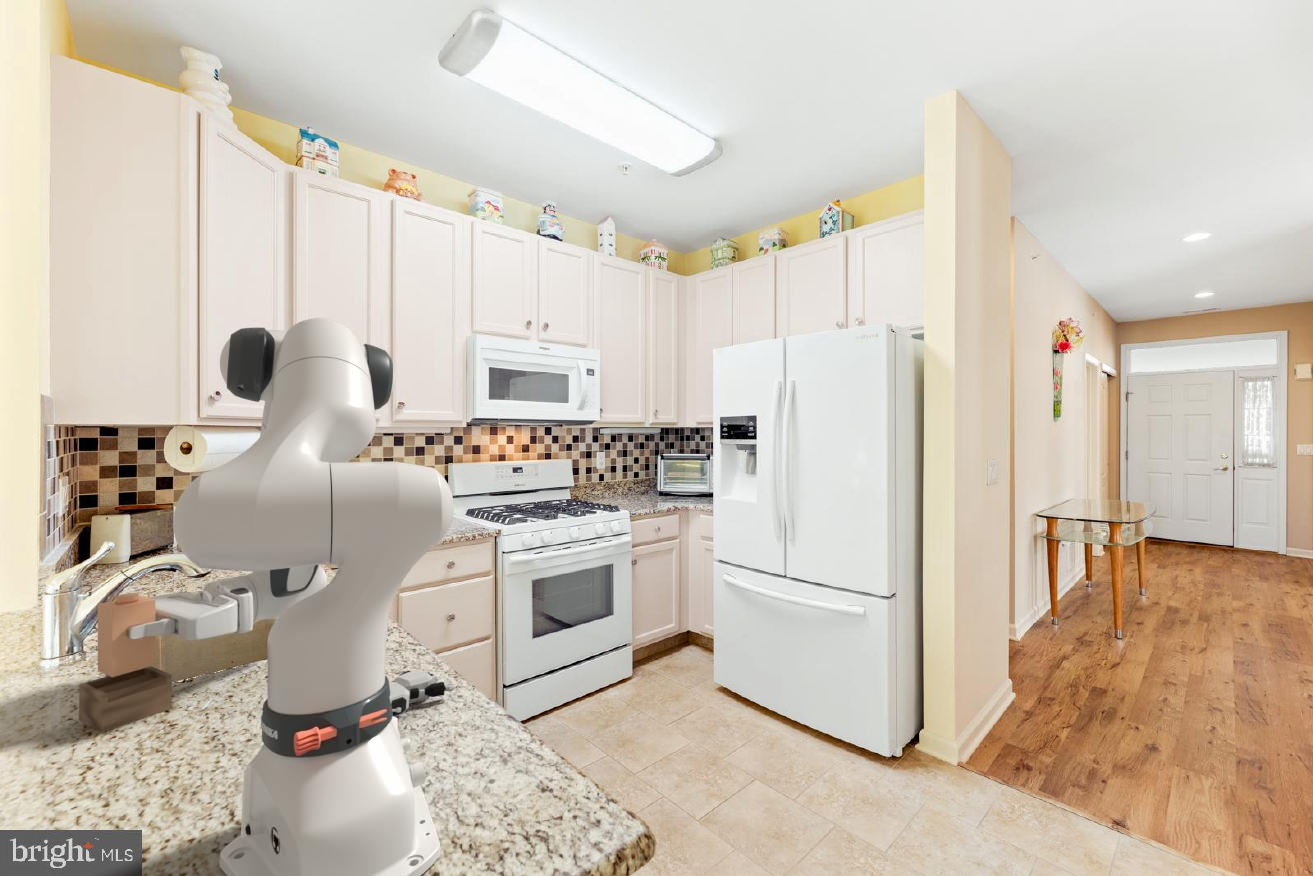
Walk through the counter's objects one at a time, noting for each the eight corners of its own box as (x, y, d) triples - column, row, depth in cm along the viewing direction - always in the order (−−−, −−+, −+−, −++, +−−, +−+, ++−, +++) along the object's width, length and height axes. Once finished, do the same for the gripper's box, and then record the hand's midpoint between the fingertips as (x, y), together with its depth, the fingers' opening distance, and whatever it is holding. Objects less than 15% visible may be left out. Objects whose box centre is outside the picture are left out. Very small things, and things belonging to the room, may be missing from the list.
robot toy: (411, 687, 96) (321, 718, 83) (413, 660, 96) (323, 687, 83) (459, 705, 89) (370, 741, 76) (461, 676, 89) (372, 707, 77)
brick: (155, 664, 86) (155, 593, 86) (112, 677, 81) (112, 602, 81) (140, 658, 88) (140, 589, 88) (97, 670, 83) (97, 597, 83)
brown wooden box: (171, 708, 86) (171, 674, 86) (102, 732, 79) (102, 695, 79) (147, 697, 90) (147, 665, 90) (78, 719, 83) (78, 684, 83)
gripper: (194, 579, 101) (90, 599, 89) (257, 594, 91) (150, 619, 79) (194, 614, 101) (90, 639, 89) (257, 633, 91) (150, 663, 79)
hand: (118, 629), depth 84 cm, fingers closed on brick, 5 cm apart
